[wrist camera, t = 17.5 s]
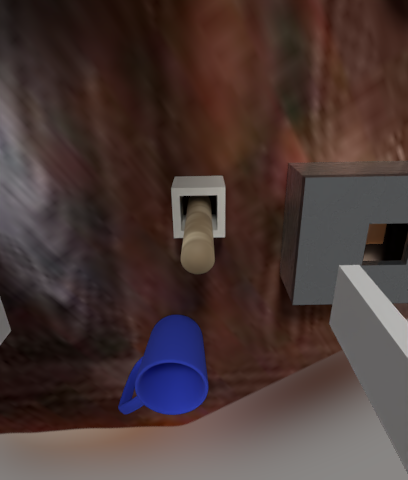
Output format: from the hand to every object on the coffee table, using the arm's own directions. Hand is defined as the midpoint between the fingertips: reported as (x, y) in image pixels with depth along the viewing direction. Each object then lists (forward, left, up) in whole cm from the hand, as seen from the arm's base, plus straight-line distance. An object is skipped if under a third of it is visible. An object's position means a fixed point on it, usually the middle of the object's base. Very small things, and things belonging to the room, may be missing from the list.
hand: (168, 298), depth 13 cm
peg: (+1, -4, -27) cm, 27 cm away
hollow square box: (+1, -4, -27) cm, 27 cm away
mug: (-4, -24, -27) cm, 37 cm away
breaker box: (+20, -7, -27) cm, 34 cm away
